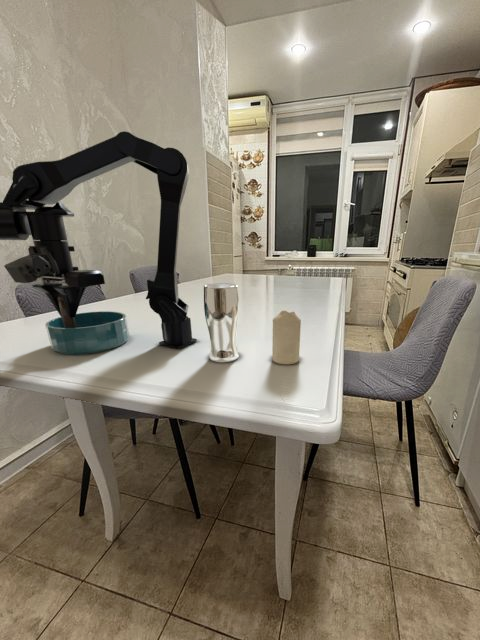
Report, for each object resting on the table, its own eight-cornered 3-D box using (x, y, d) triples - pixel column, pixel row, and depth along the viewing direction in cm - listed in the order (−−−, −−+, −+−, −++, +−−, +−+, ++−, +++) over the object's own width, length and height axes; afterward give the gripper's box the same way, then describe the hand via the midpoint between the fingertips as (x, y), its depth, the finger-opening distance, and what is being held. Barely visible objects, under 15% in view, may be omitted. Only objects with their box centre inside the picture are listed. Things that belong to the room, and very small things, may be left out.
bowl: (143, 339, 73) (140, 315, 71) (79, 360, 60) (72, 332, 57) (103, 330, 80) (99, 308, 78) (37, 347, 67) (30, 322, 65)
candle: (268, 357, 61) (268, 310, 58) (290, 353, 63) (292, 308, 60) (279, 366, 57) (280, 316, 53) (303, 362, 59) (306, 313, 55)
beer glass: (235, 364, 58) (232, 288, 52) (202, 361, 59) (196, 287, 54) (244, 352, 64) (242, 283, 59) (214, 350, 65) (210, 282, 60)
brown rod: (76, 342, 68) (64, 292, 64) (86, 344, 66) (75, 293, 62) (62, 347, 65) (49, 294, 61) (73, 348, 64) (60, 295, 59)
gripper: (-29, 239, 53) (-3, 321, 59) (44, 241, 48) (65, 331, 53) (33, 240, 63) (50, 310, 69) (99, 241, 58) (112, 317, 63)
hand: (68, 317), depth 63 cm, fingers closed on brown rod, 2 cm apart
